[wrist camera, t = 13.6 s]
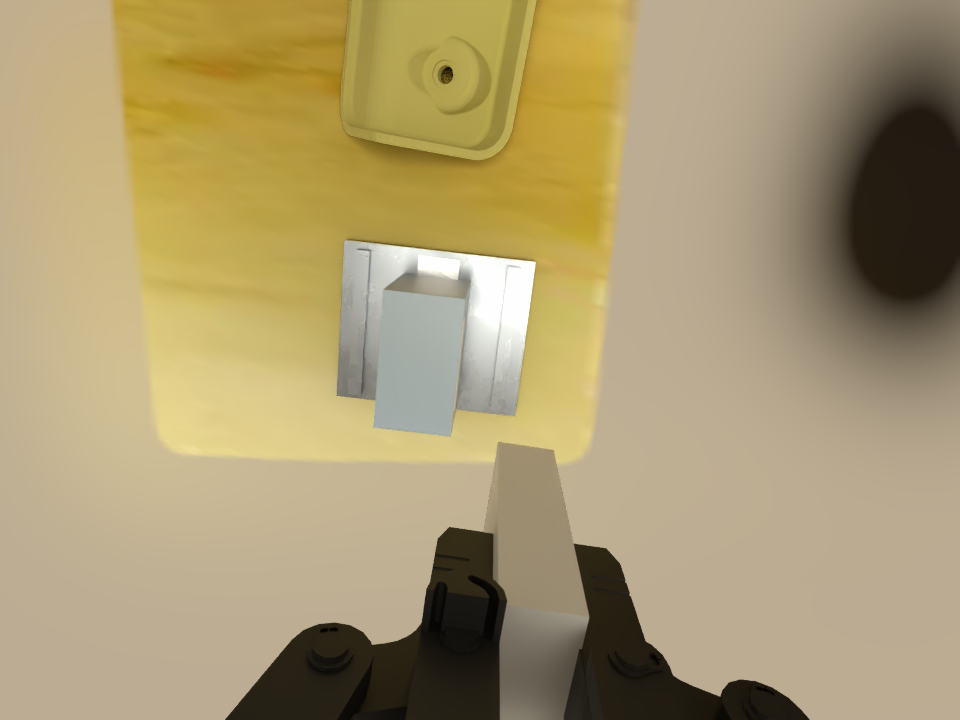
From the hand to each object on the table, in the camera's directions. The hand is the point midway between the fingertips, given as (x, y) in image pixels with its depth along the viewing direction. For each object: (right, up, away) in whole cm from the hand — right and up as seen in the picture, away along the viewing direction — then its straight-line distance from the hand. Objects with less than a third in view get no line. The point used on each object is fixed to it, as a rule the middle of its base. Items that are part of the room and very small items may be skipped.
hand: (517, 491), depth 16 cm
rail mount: (-5, +6, +29) cm, 30 cm away
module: (-5, +5, +29) cm, 30 cm away
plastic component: (-3, +28, +24) cm, 37 cm away
